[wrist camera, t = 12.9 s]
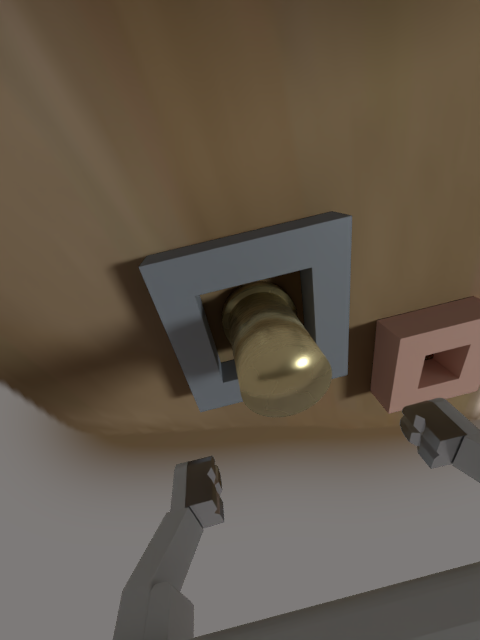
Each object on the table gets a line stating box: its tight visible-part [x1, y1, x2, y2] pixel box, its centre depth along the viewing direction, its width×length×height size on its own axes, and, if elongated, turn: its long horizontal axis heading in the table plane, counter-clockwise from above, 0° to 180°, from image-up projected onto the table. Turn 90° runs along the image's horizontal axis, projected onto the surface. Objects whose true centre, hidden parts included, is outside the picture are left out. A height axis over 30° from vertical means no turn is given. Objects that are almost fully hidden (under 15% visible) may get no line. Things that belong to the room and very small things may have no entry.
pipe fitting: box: [222, 281, 332, 417], centre depth 17 cm, size 6×6×8 cm
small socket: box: [370, 296, 480, 413], centre depth 23 cm, size 9×9×3 cm
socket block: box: [139, 211, 352, 412], centre depth 19 cm, size 13×13×2 cm
